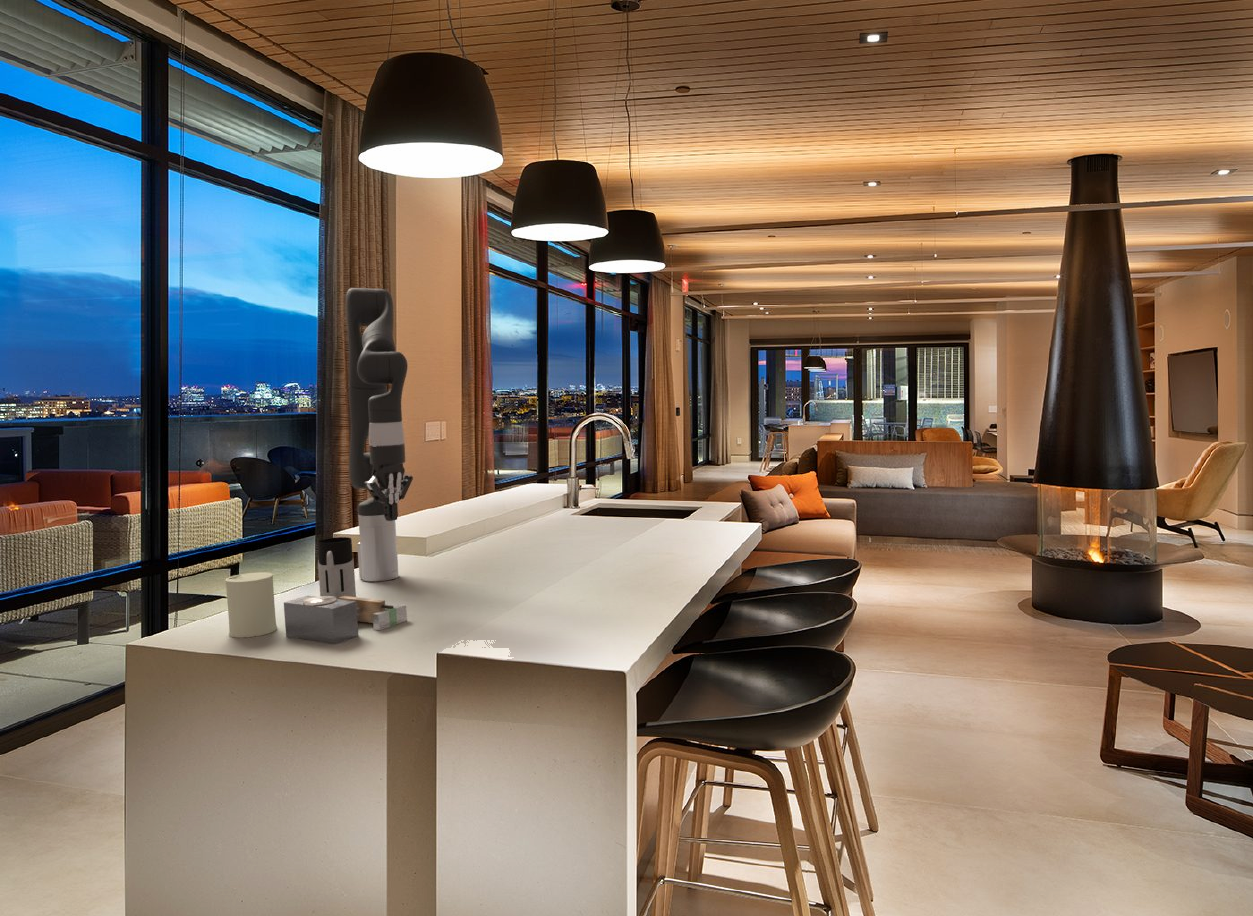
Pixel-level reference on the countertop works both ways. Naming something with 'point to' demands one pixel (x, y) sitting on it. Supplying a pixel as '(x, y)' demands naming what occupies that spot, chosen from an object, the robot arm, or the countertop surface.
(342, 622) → the set of grey blocks
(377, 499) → the robot arm
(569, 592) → the countertop surface
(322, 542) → the black and white mug
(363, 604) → the tan wooden bar
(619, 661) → the countertop surface
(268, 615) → the can
